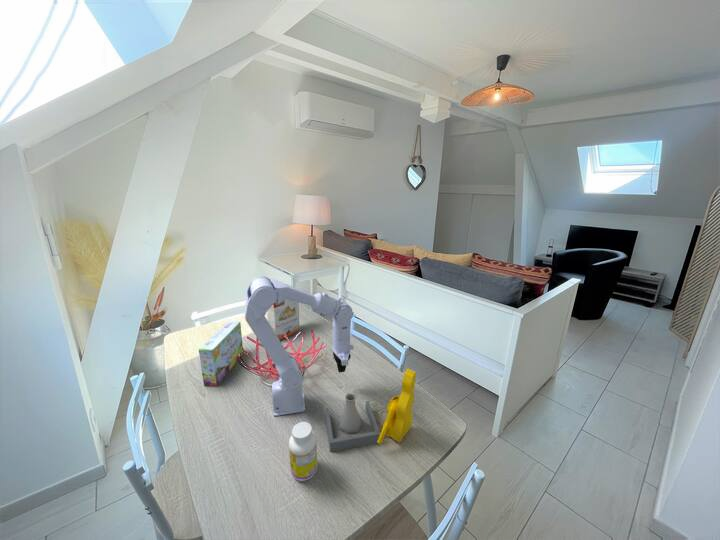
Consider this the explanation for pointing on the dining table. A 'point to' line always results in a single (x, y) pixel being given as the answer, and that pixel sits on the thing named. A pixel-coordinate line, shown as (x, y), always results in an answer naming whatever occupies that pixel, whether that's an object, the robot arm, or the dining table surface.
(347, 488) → the dining table surface
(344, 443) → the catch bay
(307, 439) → the supplement bottle
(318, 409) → the dining table surface
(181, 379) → the dining table surface
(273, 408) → the robot arm
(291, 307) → the cracker box
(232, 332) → the snack box
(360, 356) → the dining table surface
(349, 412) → the flask
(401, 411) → the figure statuette
